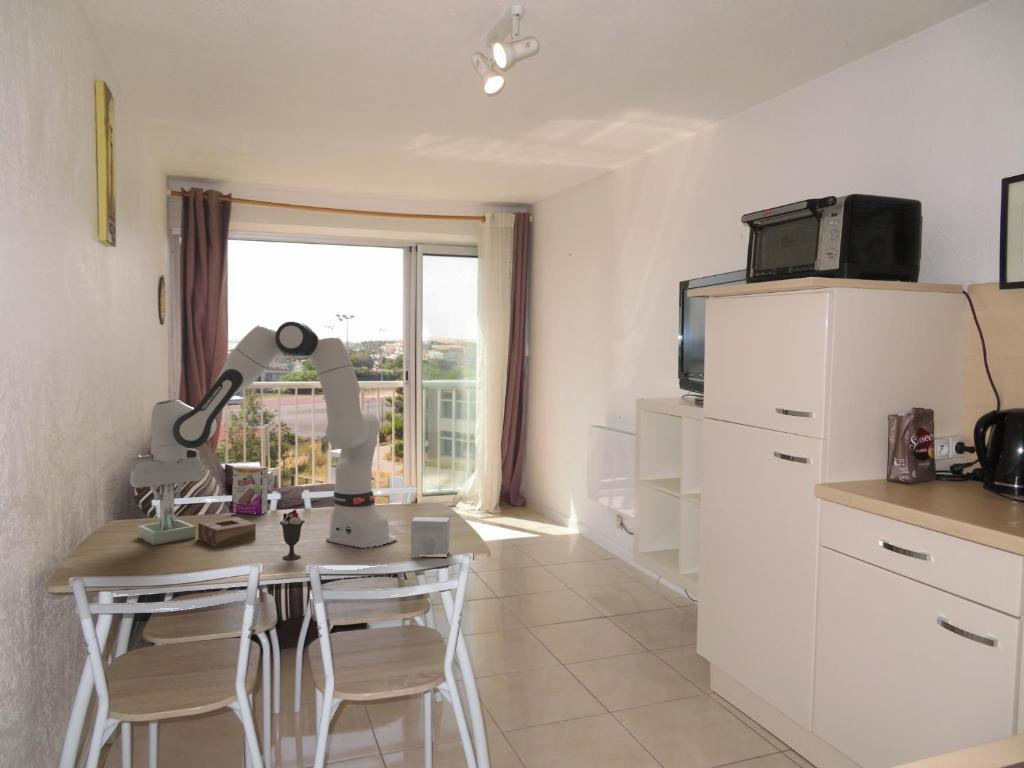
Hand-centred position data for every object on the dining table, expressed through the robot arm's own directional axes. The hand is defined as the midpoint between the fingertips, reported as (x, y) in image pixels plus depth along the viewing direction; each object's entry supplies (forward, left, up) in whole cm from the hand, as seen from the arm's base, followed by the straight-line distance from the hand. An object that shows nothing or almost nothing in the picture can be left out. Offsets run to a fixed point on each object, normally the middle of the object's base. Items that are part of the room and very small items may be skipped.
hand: (167, 498), depth 214 cm
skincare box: (-68, -46, -12) cm, 83 cm away
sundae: (-44, -16, -12) cm, 48 cm away
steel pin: (0, 0, -10) cm, 10 cm away
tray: (0, 0, -12) cm, 12 cm away
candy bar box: (+14, -34, -12) cm, 39 cm away
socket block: (-14, -12, -12) cm, 22 cm away
